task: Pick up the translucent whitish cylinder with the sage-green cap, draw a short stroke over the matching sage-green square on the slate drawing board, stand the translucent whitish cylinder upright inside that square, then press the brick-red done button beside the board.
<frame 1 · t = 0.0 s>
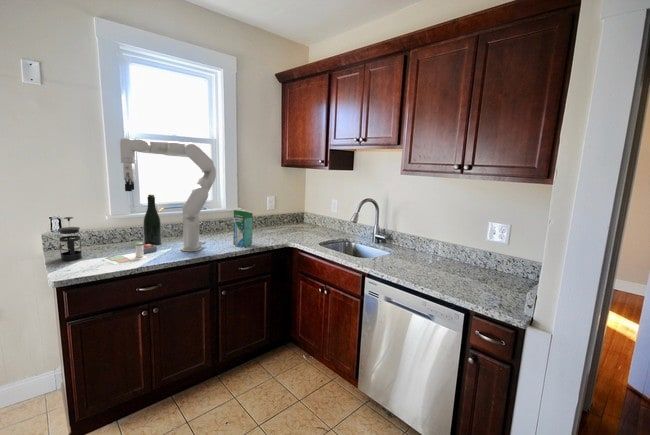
hand: (129, 190, 185), 37 cm above the worktop, tool pointing down, fingers open, 9 cm apart
green wine bottle: (152, 243, 213), on the worktop
french press: (71, 259, 173), on the worktop
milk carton: (242, 245, 220), on the worktop
button housing: (147, 252, 191), on the worktop
translucent whitish cylinder: (139, 256, 179), point 1 cm above the worktop, touching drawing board
done button: (147, 247, 191), point 4 cm above the worktop, slide at 0.0 cm
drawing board: (125, 260, 176), on the worktop
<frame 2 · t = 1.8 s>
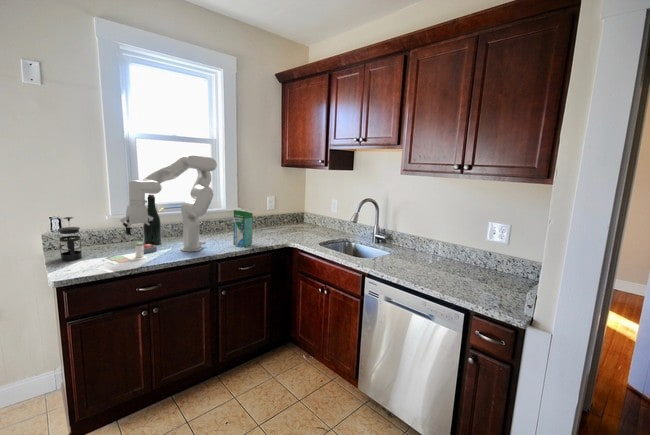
hand: (137, 233, 177), 15 cm above the worktop, tool pointing down, fingers open, 9 cm apart
nothing on the worktop moved.
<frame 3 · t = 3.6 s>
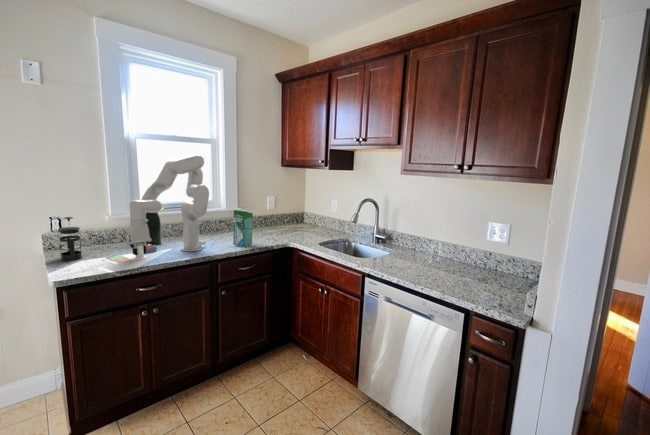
hand: (139, 253, 179), 3 cm above the worktop, tool pointing down, fingers closed on translucent whitish cylinder, 4 cm apart
translucent whitish cylinder: (139, 256, 179), point 1 cm above the worktop, touching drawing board, gripper
everything else where it was.
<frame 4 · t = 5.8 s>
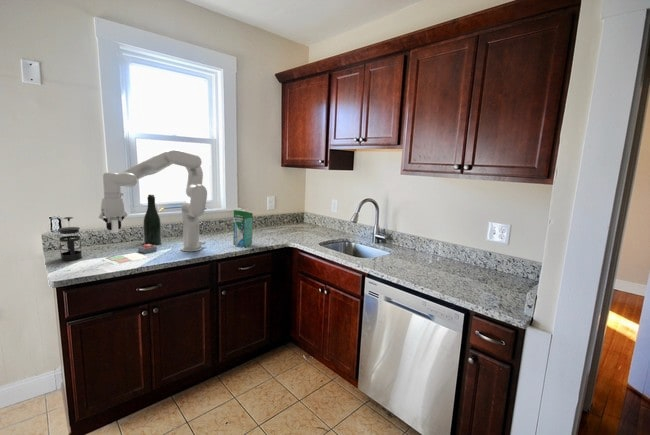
hand: (114, 228, 173), 17 cm above the worktop, tool pointing down, fingers closed on translucent whitish cylinder, 4 cm apart
translucent whitish cylinder: (114, 232, 173), point 16 cm above the worktop, touching gripper
everything else where it was.
when the fingers open (4 cm above the worktop, at t = 8.2 s): translucent whitish cylinder stays where it is, resting on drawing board.
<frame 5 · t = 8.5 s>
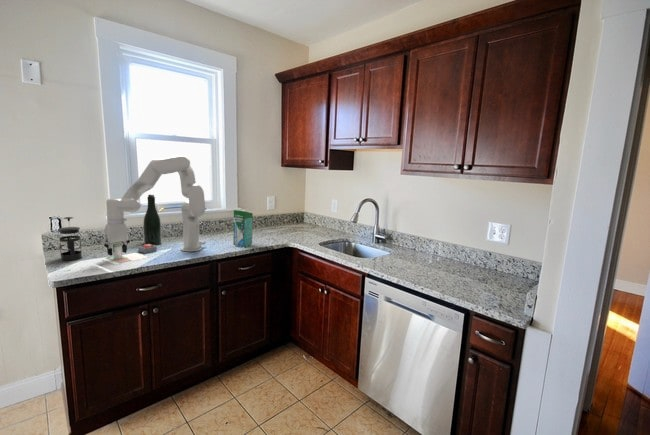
hand: (117, 253, 174), 4 cm above the worktop, tool pointing down, fingers open, 6 cm apart
translucent whitish cylinder: (117, 258, 175), point 1 cm above the worktop, touching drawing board
everything else where it was.
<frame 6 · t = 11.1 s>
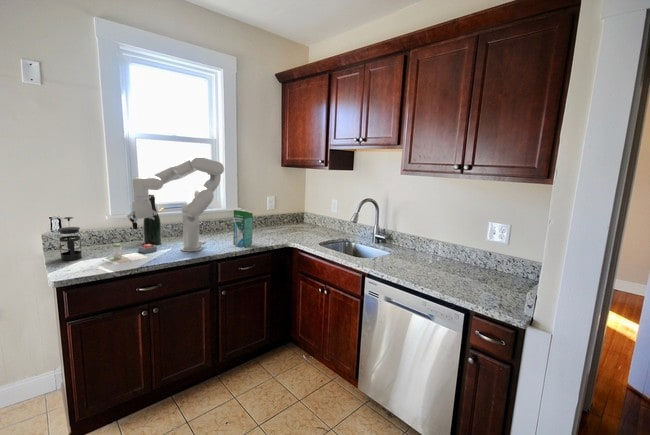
hand: (143, 227, 187), 16 cm above the worktop, tool pointing down, fingers open, 9 cm apart
nothing on the worktop moved.
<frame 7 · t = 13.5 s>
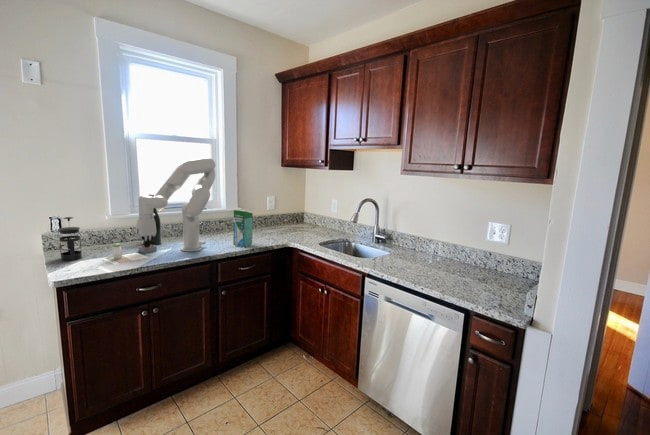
hand: (146, 246, 190), 4 cm above the worktop, tool pointing down, fingers closed
done button: (147, 249, 191), point 2 cm above the worktop, slide at 1.2 cm, touching gripper
everything else where it was.
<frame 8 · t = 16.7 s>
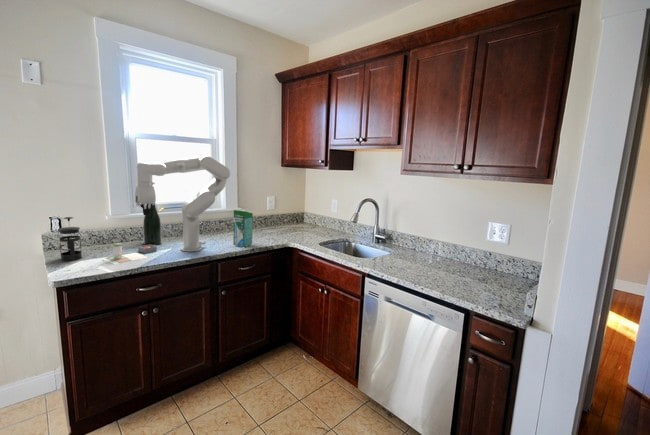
hand: (146, 215, 188), 23 cm above the worktop, tool pointing down, fingers closed
done button: (147, 249, 191), point 2 cm above the worktop, slide at 1.3 cm
everything else where it was.
at the end: translucent whitish cylinder 0.7 cm from the target spot, point 1.3 cm above the worktop; translucent whitish cylinder tilted 3°; done button slide at 1.3 cm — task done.
